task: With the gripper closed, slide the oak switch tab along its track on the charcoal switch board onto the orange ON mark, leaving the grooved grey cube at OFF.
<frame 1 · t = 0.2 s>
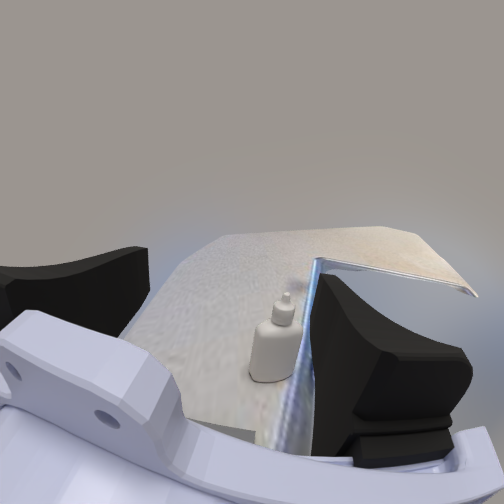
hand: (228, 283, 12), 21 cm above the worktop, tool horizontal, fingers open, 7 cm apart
eye dropper bottle: (270, 374, 36), on the worktop
switch board: (166, 485, 19), on the worktop
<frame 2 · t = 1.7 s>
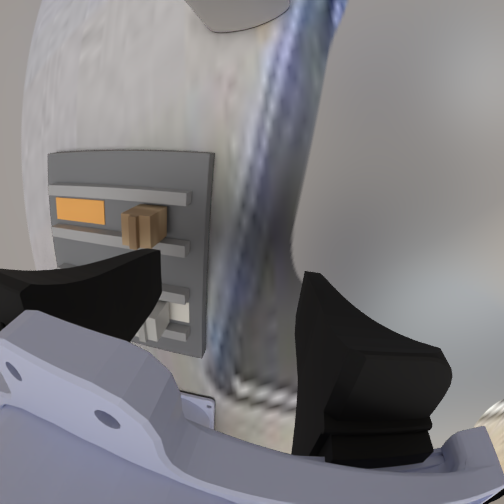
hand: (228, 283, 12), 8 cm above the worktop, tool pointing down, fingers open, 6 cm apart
oak tab: (143, 226, 17), point 3 cm above the worktop, slide at 0.0 cm
grooved grey cube: (149, 319, 20), point 3 cm above the worktop, slide at 0.0 cm
eye dropper bottle: (246, 10, 14), on the worktop
switch board: (123, 252, 22), on the worktop
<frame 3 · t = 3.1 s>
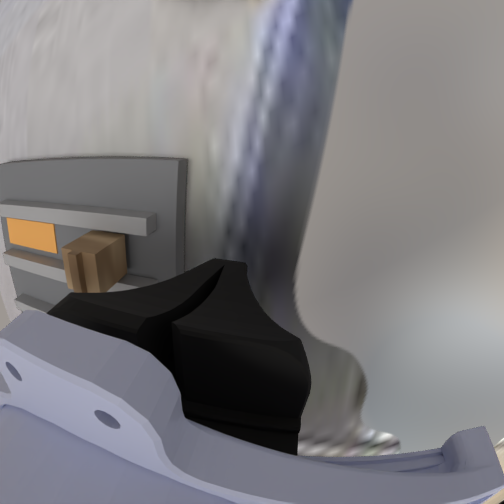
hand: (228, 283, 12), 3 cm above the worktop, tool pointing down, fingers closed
oak tab: (93, 262, 12), point 3 cm above the worktop, slide at 0.0 cm
switch board: (84, 285, 16), on the worktop
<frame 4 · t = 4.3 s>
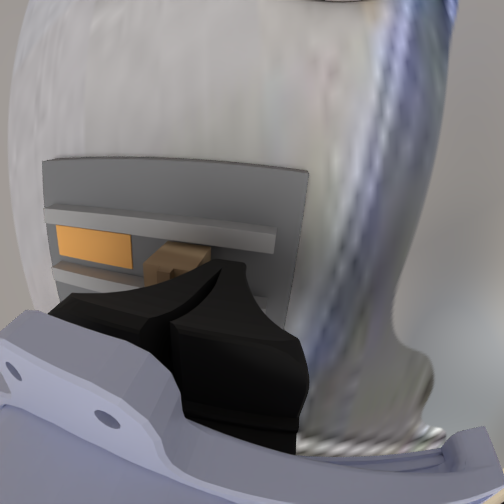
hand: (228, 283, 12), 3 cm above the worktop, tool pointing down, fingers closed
oak tab: (177, 279, 12), point 3 cm above the worktop, slide at 1.2 cm, touching gripper
switch board: (159, 303, 16), on the worktop
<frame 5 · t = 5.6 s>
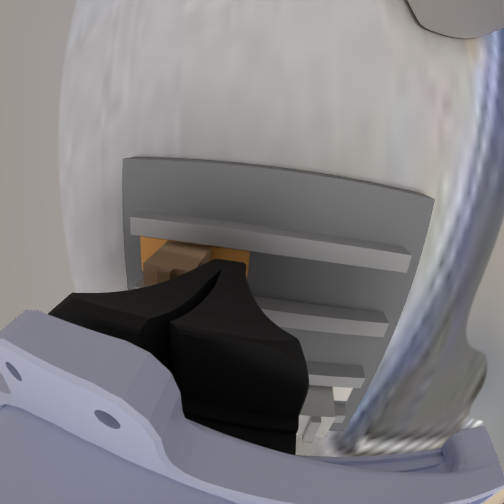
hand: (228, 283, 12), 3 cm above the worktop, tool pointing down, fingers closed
oak tab: (177, 279, 12), point 3 cm above the worktop, slide at 6.9 cm, touching gripper
grooved grey cube: (311, 411, 14), point 3 cm above the worktop, slide at 0.0 cm
eye dropper bottle: (448, 13, 8), on the worktop
switch board: (259, 320, 15), on the worktop
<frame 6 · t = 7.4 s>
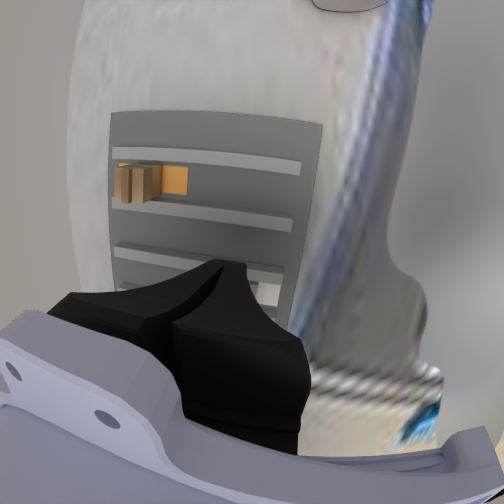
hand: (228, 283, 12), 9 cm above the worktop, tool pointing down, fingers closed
oak tab: (136, 182, 16), point 3 cm above the worktop, slide at 7.0 cm
grooved grey cube: (238, 303, 19), point 3 cm above the worktop, slide at 0.0 cm
switch board: (201, 229, 20), on the worktop
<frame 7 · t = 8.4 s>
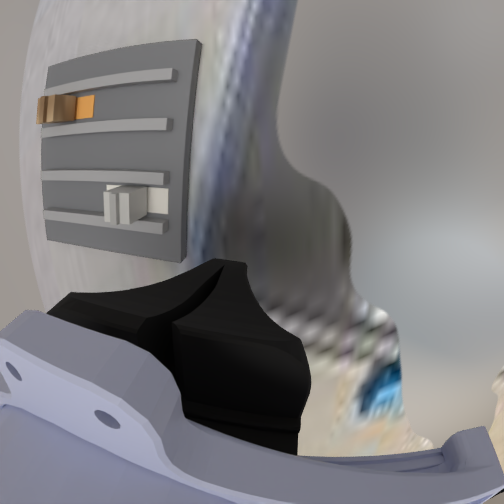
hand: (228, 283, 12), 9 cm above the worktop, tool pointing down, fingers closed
oak tab: (54, 109, 16), point 3 cm above the worktop, slide at 7.0 cm
grooved grey cube: (124, 204, 18), point 3 cm above the worktop, slide at 0.0 cm
switch board: (108, 149, 20), on the worktop
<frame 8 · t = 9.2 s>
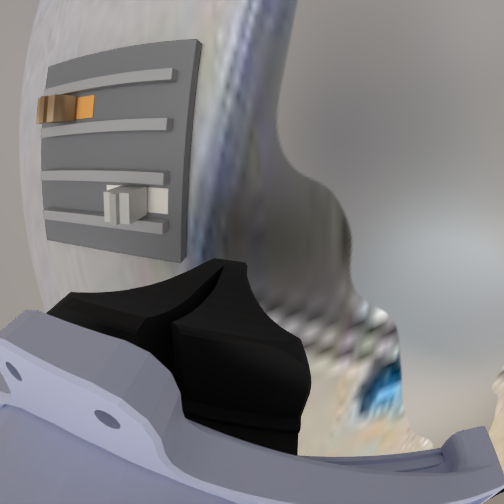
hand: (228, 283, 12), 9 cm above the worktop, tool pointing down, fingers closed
oak tab: (54, 109, 16), point 3 cm above the worktop, slide at 7.0 cm
grooved grey cube: (124, 204, 18), point 3 cm above the worktop, slide at 0.0 cm
switch board: (108, 149, 20), on the worktop
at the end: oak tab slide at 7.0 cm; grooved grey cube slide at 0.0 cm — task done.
